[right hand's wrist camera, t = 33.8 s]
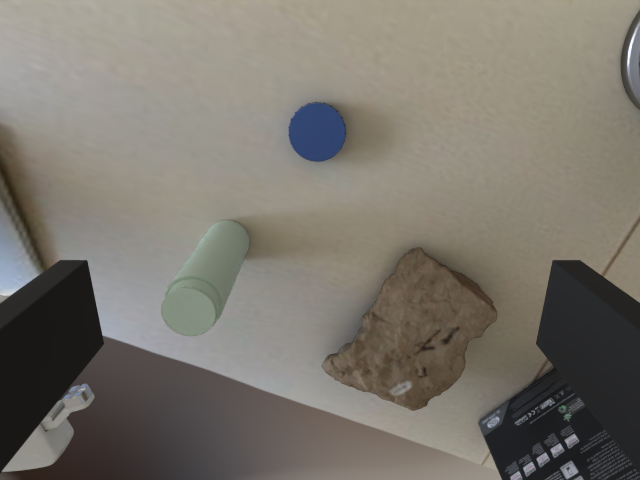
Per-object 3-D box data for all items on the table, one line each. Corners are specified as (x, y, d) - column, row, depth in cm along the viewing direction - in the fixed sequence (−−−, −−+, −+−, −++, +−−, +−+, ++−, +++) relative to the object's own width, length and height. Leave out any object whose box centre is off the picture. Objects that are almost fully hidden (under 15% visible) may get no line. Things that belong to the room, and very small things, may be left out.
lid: (306, 90, 49) (305, 91, 47) (355, 119, 50) (357, 121, 48) (279, 141, 51) (278, 144, 49) (327, 168, 52) (328, 172, 50)
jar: (254, 255, 56) (226, 333, 39) (213, 263, 57) (168, 344, 40) (243, 216, 54) (209, 279, 38) (201, 224, 55) (148, 291, 38)
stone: (409, 422, 61) (414, 446, 55) (320, 361, 62) (316, 378, 56) (501, 300, 59) (517, 312, 53) (408, 237, 59) (413, 241, 53)
